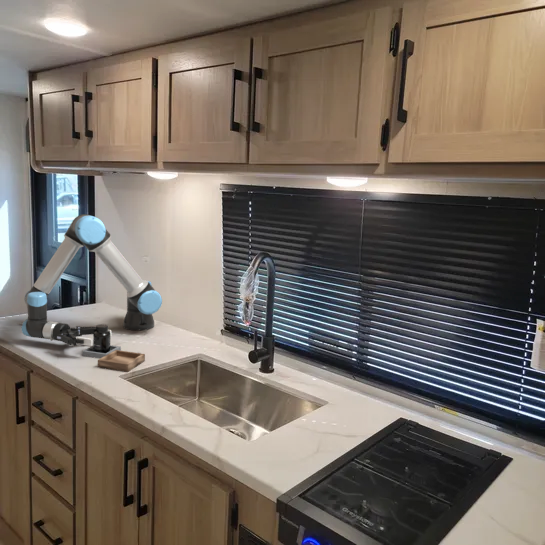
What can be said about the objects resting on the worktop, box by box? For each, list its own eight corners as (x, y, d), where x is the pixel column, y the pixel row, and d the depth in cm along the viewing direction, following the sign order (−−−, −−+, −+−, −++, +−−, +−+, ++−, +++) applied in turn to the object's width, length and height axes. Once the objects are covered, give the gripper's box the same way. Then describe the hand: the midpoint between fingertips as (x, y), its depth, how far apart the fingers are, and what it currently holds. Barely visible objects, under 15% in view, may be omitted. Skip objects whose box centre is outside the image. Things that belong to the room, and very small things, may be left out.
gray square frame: (97, 347, 212) (97, 343, 211) (120, 351, 209) (120, 346, 209) (82, 355, 201) (82, 351, 201) (106, 359, 199) (106, 354, 198)
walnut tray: (116, 356, 202) (116, 349, 202) (144, 361, 199) (144, 353, 199) (97, 367, 190) (97, 359, 189) (128, 372, 187) (128, 364, 186)
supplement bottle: (92, 356, 201) (92, 328, 199) (93, 351, 208) (93, 323, 206) (110, 355, 203) (110, 327, 201) (110, 350, 209) (110, 323, 207)
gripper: (75, 332, 221) (118, 338, 216) (36, 348, 197) (83, 355, 192) (75, 316, 220) (118, 321, 215) (36, 330, 196) (83, 337, 191)
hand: (101, 337), depth 204 cm, fingers open, 13 cm apart
